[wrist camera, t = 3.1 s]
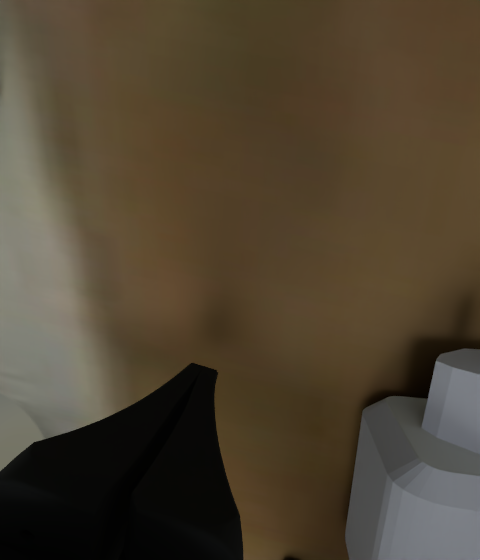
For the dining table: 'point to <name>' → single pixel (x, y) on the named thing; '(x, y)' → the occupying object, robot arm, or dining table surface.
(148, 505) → the robot arm
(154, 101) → the dining table surface
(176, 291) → the dining table surface
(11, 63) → the dining table surface
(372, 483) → the charger
